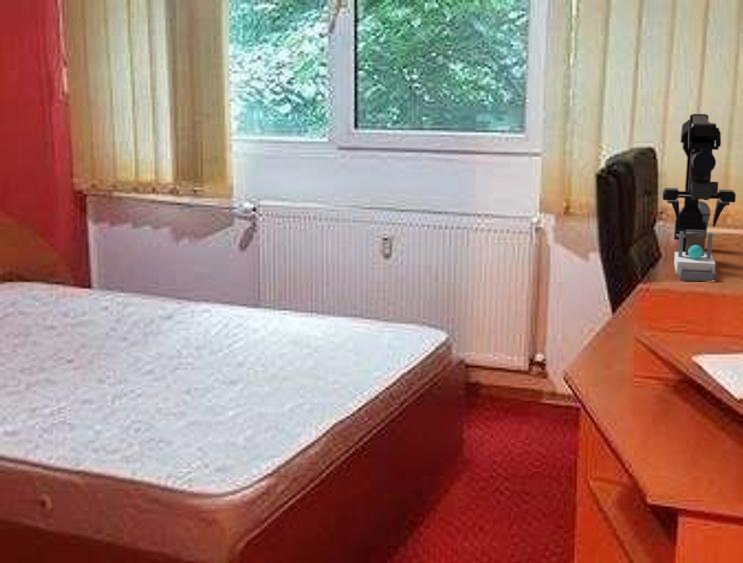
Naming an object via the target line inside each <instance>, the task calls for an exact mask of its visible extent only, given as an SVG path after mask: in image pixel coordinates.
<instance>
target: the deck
mask: <svg viewBox="0 0 743 563" xmlns="http://www.w3.org/2000/svg"><path fill="white" fill-rule="evenodd" d="M684 236H685V235H684V232H683V231H680V238H679V252H677V251H674V258H673V259H674V261H673V264H674V268H675V273H676V275H679V266H681V267H682V269H687V270H706V271H711V267H713V268H714V270H715V271H716V262H715V260H714V258H713V255H712V250H713V249H712V247H713V232H707V248H706V252H704V256H701V257H700V258H698V259H693V258H691V257H690V256H689V255H685V252H682V251H683V238H684Z"/></svg>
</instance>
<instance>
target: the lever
mask: <svg viewBox="0 0 743 563" xmlns="http://www.w3.org/2000/svg"><path fill="white" fill-rule="evenodd" d="M685 236H686V237H687V238H686V251H685V255H689V254H688V250H689V248H690V247H691V246H693V245H698V246H700V247H701V248H702V249H703V254H702V256H704V253H705V244H706V239H707V238H708V232H705V231H704V230H688V229H686V235H685Z"/></svg>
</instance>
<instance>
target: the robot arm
mask: <svg viewBox="0 0 743 563" xmlns="http://www.w3.org/2000/svg"><path fill="white" fill-rule="evenodd" d="M721 140H722V136H721V131H720V127H717V123H713V122H710V121H709V115H708V114H706V113H692V114H690V115H689V119H688V120H687V121H685V122H684V123H683V124H682V126H681V132H680V143H681V144H682V151H683V152H684V154H685V155H686V170H685V184H684V190H679V188H677V187H665V188H663V189H662V200H663V201H666V202H667V203H668V204H671V206H672V208H673V211H674V214H675V215H674V216H675V218H676V219H675V220H674V227H673V239H674V240H677V249H676V250H677V251H676V252H679V238H680V231H683V232H684V238H683V251H682V252H685V251H686V238H687V237H686V229H688V230H704V231H705V232H706V228H707V229H708V226H707V225H706V224H705V221H703V215H702V213H701V211H700V209H699V207H698V203H699V200H703V201H708V200H715V199H716V203H715V209H714V214H713V219H712V228H715V227H716V225H717V222H718V220H719V217H720V215H721V213H722V212H723V210H724V208H726V206H730V204H731V203H736V197H737V195H736V192H735V191H734V190H733V189H719V182H718V181H711V180H712V172H713V171H714V169H715V168H716V164H717V161H716V157H715V156H714V153H713V150H716V151H718V150H719V148H720V147H721V145H722V141H721ZM679 199H683V206H682V208H681V209H680V201H679Z"/></svg>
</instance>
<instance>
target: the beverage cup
mask: <svg viewBox="0 0 743 563" xmlns="http://www.w3.org/2000/svg"><path fill="white" fill-rule="evenodd" d="M698 207H699V209H700V211H701V213H702V215H703V221H705V224H706V225H707V228H706V232H707V231H708V226H709V221H710V219H711V218H710V217H711V208H710V206H709V205H708V204H707V203H706V202H705V201H702V200H701V201H699V203H698ZM707 233H708V232H707Z"/></svg>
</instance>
